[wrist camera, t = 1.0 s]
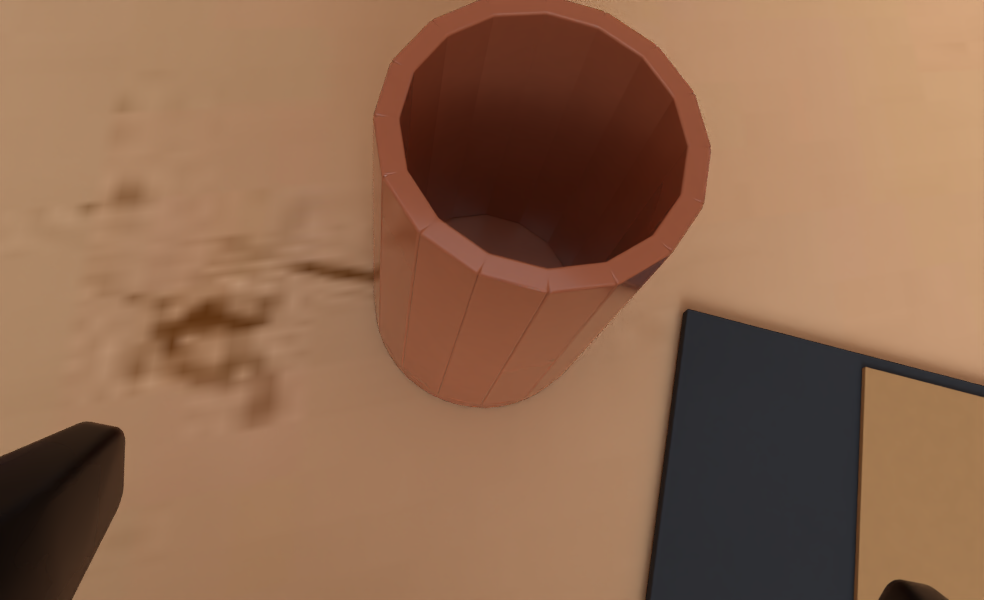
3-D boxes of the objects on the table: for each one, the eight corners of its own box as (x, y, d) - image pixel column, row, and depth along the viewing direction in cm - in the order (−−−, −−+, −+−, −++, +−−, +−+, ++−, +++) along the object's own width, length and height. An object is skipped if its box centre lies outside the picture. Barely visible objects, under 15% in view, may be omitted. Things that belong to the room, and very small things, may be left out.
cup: (563, 431, 23) (689, 329, 14) (349, 378, 23) (332, 237, 14) (598, 239, 26) (725, 44, 16) (405, 188, 25) (423, -42, 16)
